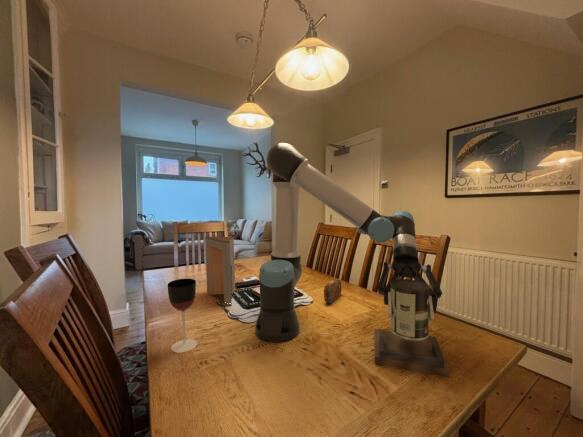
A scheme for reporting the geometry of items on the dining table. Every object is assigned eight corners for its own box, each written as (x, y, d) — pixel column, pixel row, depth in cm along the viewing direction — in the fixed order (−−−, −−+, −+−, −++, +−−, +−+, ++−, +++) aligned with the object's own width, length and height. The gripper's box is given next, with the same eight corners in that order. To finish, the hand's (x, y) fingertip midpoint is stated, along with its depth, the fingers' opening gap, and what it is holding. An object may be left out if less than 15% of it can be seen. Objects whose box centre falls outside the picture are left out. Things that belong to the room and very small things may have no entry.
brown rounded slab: (329, 306, 108) (329, 287, 108) (322, 305, 110) (322, 285, 109) (342, 295, 121) (342, 277, 121) (335, 293, 123) (335, 276, 122)
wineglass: (171, 356, 74) (168, 289, 73) (169, 342, 82) (167, 280, 81) (199, 349, 78) (197, 284, 77) (196, 335, 86) (193, 277, 84)
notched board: (374, 363, 70) (374, 349, 70) (374, 334, 85) (374, 322, 85) (449, 377, 65) (450, 361, 64) (435, 343, 80) (435, 330, 80)
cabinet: (207, 293, 124) (205, 236, 122) (225, 289, 131) (223, 234, 129) (228, 306, 109) (226, 241, 107) (247, 300, 115) (246, 239, 113)
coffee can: (422, 324, 79) (423, 279, 78) (434, 343, 68) (435, 291, 67) (387, 321, 81) (387, 278, 80) (393, 339, 71) (393, 289, 70)
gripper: (441, 259, 84) (454, 328, 70) (369, 255, 91) (368, 317, 77) (445, 245, 79) (460, 318, 65) (369, 243, 86) (368, 307, 72)
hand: (410, 317), depth 71 cm, fingers closed on coffee can, 10 cm apart
